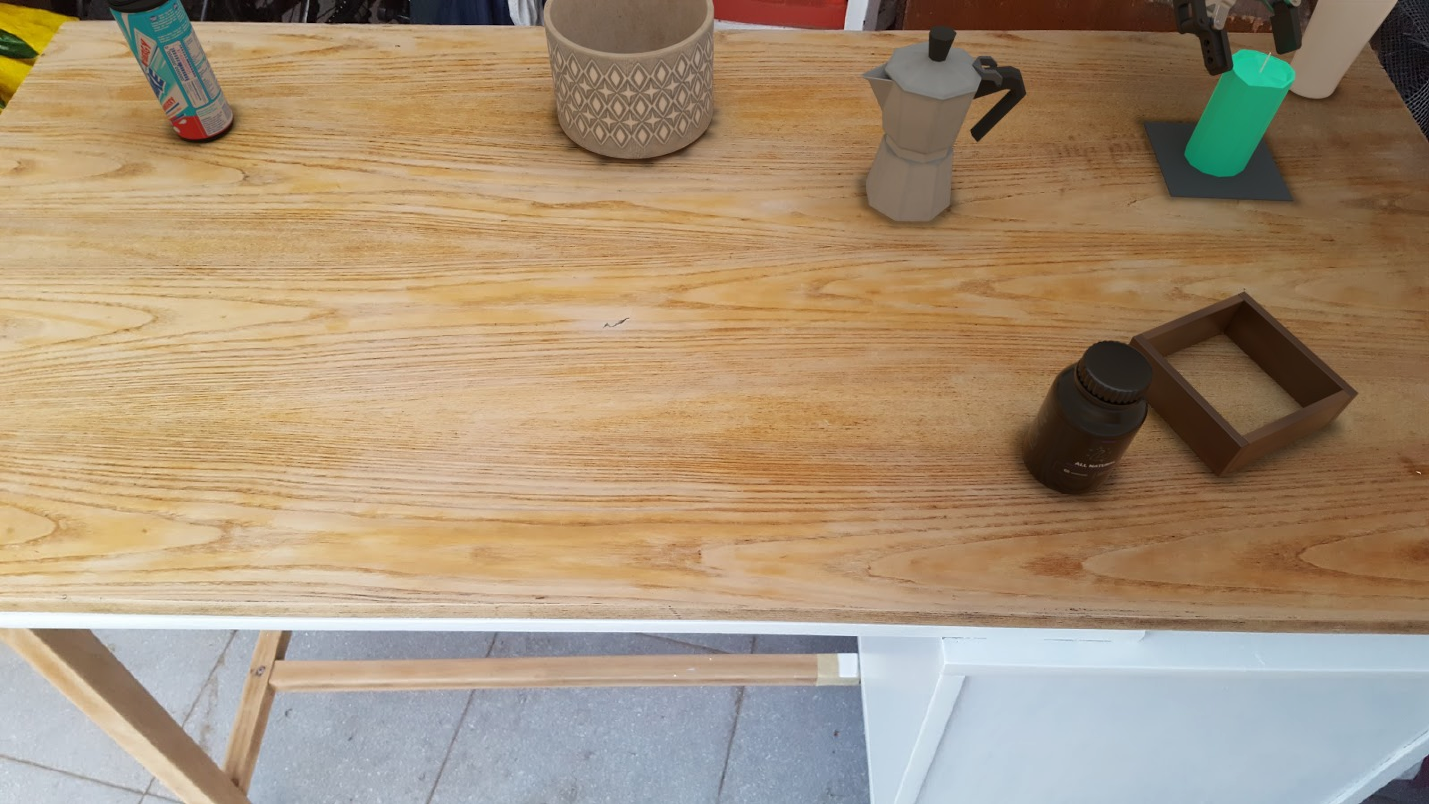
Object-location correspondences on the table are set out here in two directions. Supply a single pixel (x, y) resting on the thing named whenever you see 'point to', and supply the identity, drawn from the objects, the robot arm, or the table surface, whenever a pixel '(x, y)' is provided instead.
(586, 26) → the planter
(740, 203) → the table surface
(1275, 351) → the brown wooden tray
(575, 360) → the table surface
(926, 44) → the coffee maker
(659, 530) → the table surface
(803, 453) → the table surface
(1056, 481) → the supplement bottle
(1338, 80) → the cream tall cylinder
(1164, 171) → the mat
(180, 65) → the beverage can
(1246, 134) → the candle
